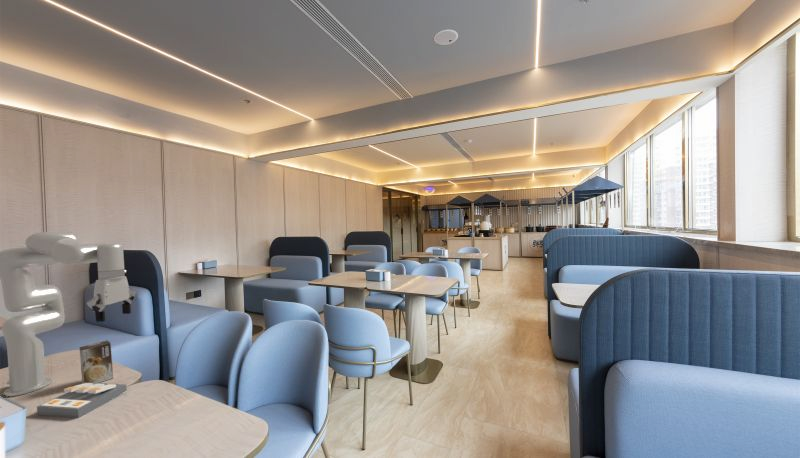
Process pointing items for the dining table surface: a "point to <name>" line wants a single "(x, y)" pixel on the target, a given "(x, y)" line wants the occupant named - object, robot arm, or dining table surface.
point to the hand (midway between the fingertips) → (114, 317)
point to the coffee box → (96, 362)
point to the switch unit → (79, 402)
